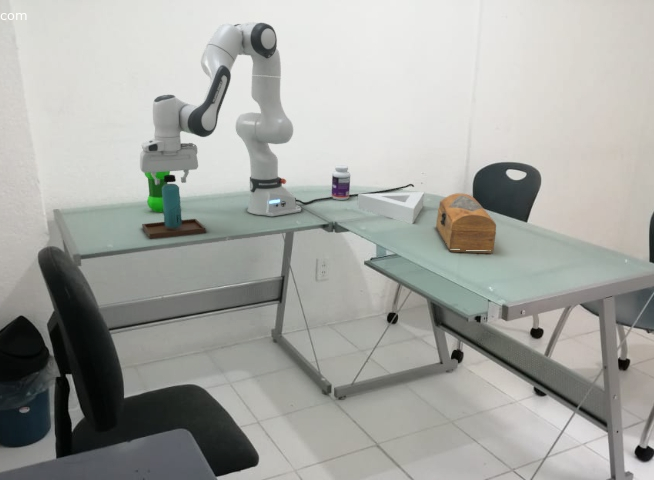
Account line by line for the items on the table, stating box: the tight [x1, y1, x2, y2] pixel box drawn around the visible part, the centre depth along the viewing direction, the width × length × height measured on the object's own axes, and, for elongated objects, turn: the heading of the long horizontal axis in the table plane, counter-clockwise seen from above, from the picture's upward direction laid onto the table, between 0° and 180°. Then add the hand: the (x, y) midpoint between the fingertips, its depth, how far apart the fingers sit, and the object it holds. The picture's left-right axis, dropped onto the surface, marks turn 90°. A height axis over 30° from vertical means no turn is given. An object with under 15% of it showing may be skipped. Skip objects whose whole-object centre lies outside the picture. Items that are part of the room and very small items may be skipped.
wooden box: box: [435, 192, 497, 254], centre depth 217 cm, size 30×16×14 cm, turn 176°
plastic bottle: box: [144, 171, 171, 213], centre depth 244 cm, size 10×10×25 cm
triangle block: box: [356, 191, 425, 225], centre depth 255 cm, size 30×26×6 cm
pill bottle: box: [331, 165, 351, 201], centre depth 271 cm, size 8×8×14 cm
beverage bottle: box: [162, 174, 183, 228], centre depth 219 cm, size 6×7×20 cm
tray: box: [141, 218, 206, 240], centre depth 223 cm, size 20×13×2 cm, turn 115°
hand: (170, 183), depth 216 cm, fingers open, 8 cm apart
